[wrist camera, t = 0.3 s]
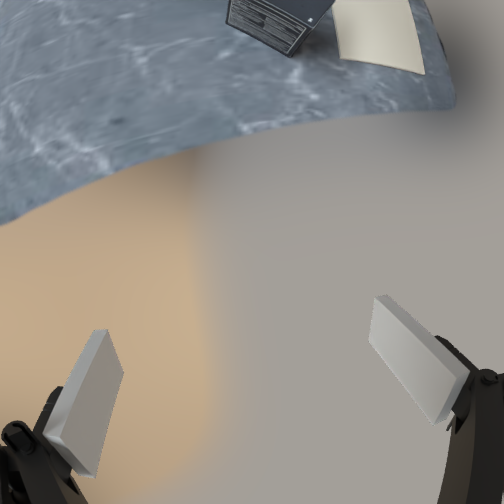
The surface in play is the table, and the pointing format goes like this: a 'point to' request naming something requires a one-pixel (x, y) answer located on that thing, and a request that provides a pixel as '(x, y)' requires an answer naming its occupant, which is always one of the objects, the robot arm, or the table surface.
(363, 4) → the mat
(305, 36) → the small box
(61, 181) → the table surface
